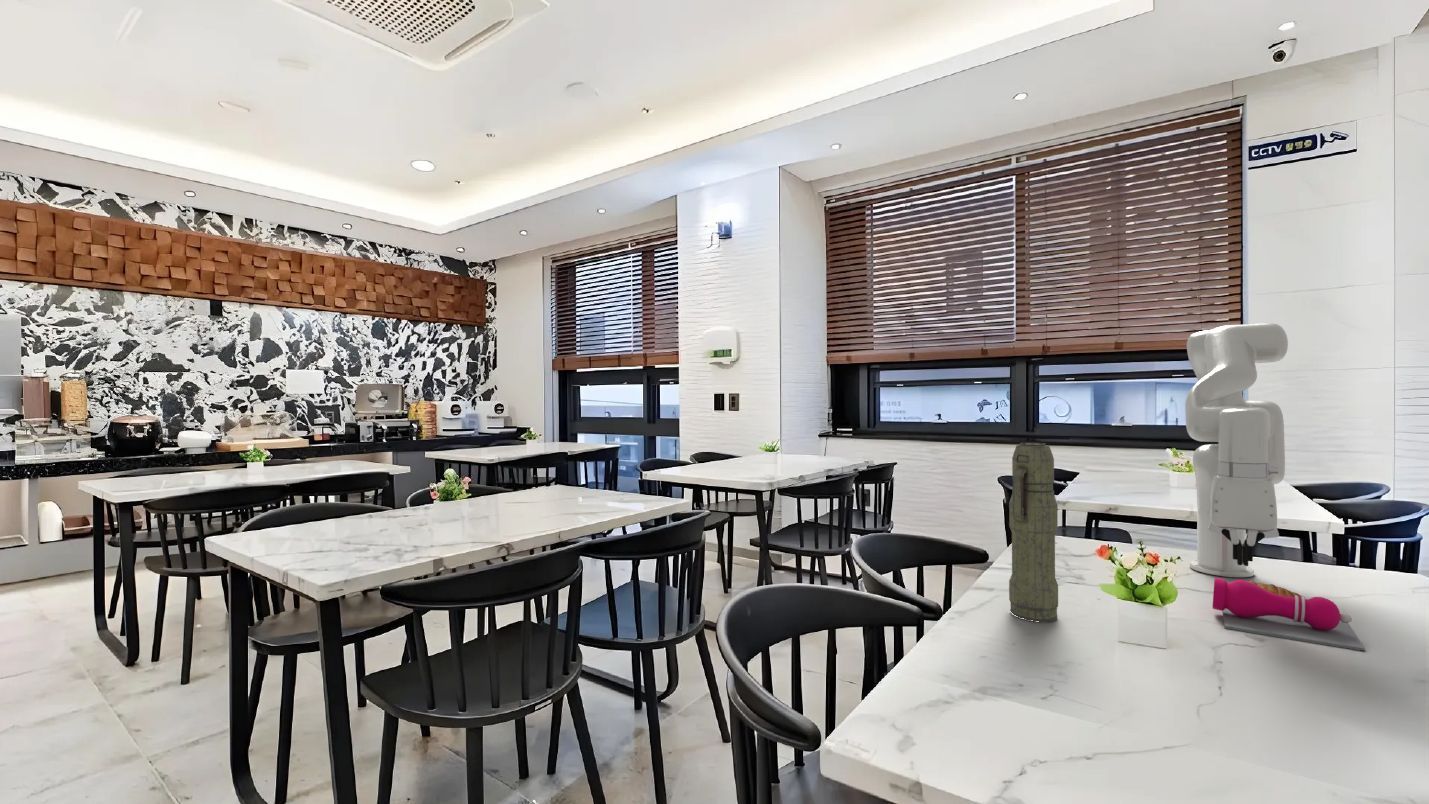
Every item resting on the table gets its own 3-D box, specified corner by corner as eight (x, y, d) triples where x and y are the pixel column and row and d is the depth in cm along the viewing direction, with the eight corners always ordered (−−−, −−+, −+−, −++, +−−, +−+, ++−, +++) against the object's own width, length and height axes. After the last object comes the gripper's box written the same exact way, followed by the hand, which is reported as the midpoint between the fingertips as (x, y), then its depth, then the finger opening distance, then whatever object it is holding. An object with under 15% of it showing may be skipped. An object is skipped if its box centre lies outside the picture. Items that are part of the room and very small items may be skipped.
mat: (1221, 606, 134) (1221, 604, 134) (1347, 625, 123) (1347, 622, 123) (1224, 628, 122) (1224, 625, 122) (1365, 651, 111) (1365, 648, 111)
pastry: (1304, 603, 136) (1304, 585, 136) (1306, 612, 131) (1306, 593, 131) (1246, 594, 142) (1246, 577, 142) (1246, 602, 137) (1246, 585, 137)
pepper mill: (1214, 577, 133) (1349, 601, 121) (1212, 612, 132) (1348, 640, 119) (1214, 572, 128) (1355, 597, 115) (1212, 609, 126) (1354, 638, 114)
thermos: (998, 616, 130) (997, 444, 129) (1023, 603, 138) (1022, 440, 137) (1044, 628, 123) (1043, 446, 123) (1067, 613, 131) (1067, 442, 131)
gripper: (1291, 471, 125) (1290, 565, 125) (1195, 466, 133) (1194, 554, 134) (1296, 476, 118) (1296, 574, 119) (1195, 470, 127) (1195, 562, 128)
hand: (1242, 563), depth 126 cm, fingers closed
